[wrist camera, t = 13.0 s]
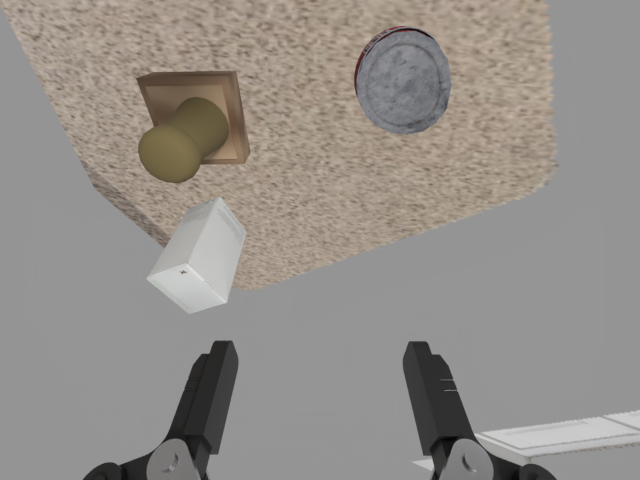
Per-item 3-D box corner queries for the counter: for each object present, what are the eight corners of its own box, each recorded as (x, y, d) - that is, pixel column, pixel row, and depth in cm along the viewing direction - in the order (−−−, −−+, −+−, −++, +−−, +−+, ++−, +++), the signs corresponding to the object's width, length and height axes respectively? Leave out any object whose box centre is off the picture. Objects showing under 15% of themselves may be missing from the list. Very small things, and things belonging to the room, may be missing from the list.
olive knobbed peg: (176, 141, 34) (129, 183, 26) (176, 89, 31) (120, 117, 22) (226, 155, 36) (197, 200, 27) (231, 106, 32) (199, 140, 23)
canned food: (393, 109, 41) (384, 162, 36) (343, 58, 36) (326, 112, 32) (473, 53, 32) (474, 114, 28) (421, -25, 27) (412, 34, 23)
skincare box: (188, 207, 45) (140, 277, 33) (222, 193, 44) (185, 262, 32) (218, 243, 50) (186, 316, 38) (250, 233, 49) (227, 305, 37)
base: (152, 72, 33) (134, 78, 30) (236, 70, 33) (226, 76, 30) (180, 153, 40) (167, 165, 36) (250, 152, 40) (244, 164, 36)
